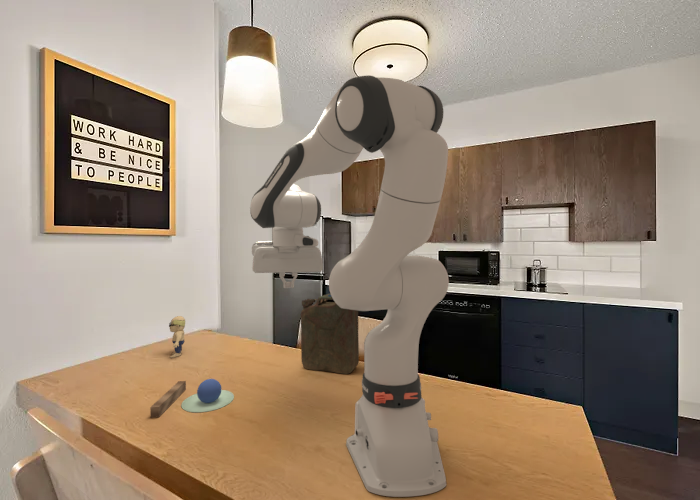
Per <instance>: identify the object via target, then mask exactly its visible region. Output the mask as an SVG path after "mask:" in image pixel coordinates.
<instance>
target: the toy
mask: <svg viewBox="0 0 700 500" xmlns="http://www.w3.org/2000/svg"><path fill="white" fill-rule="evenodd" d="M168 324H169V325H168V327H169V332H171V333H173V335H172V340H171V341H172V348H174V352H172V353H171V355H170V356H169V358H178V357H180V356H181V355H182V353H183V345H184V343H185V330H184V329H185V327H186V318H185V317H184V316H181V315H178V316H175V317H173V318H172V319H171V321H170V322H169V323H168Z"/></svg>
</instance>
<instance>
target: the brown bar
mask: <svg viewBox="0 0 700 500" xmlns="http://www.w3.org/2000/svg"><path fill="white" fill-rule="evenodd" d="M186 381H187V380H181V381H180V380H179V381H177V382H176V383H175V384H174V385H173V386H172V387H171V388H169V389H168V391H165V393H164V394H163V395H162V396H161V397H159V399H158V400H156V401H155V402H154V403H153V404H152V405H151V406H150V407H149V408H150V409H149V410H150V418H160V417H161V416H162V415H163V414H164V413H165V412H166V411H167V410H168V409H169V407H170V406H171V405H172V404H173V403H174V402H175V401H176V400H177V399H179V397H180V396H182V394H183V393H184V392H185V391H186V390H187V382H186Z"/></svg>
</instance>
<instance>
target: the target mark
mask: <svg viewBox="0 0 700 500" xmlns="http://www.w3.org/2000/svg"><path fill="white" fill-rule="evenodd" d="M234 397H235V394H234V393H233V392H232V391H231V390H227V389H226V390H225V389H221V394H220V396H219V398H218V399H217V400H215V401H214V402H212V403H204V402H202V401H200V400H199V398H198V396H197V393H194V394H192V395H189V396H188V397H186V398H185V399H184V400H183V401H182V402H181V406H180V407H181V408H182V410H184V411H186V412H189V413H207V412H211V411H216V410H219V409H222V408H224V407H226V406H228V405H229V404H230V403H232V402H233V401H234V400H235V399H234Z"/></svg>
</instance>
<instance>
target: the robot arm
mask: <svg viewBox="0 0 700 500" xmlns="http://www.w3.org/2000/svg"><path fill="white" fill-rule="evenodd" d="M442 102H443V101H442V100H441V98H440V97H439V96H438V94H436V92H434V91H433V90H432V89H430V88H428V87H426V86H423V85H416V84H413V83H410V82H406V81H404V80H402V79H398V78H392V77H376V76H374V75H359V76H356V77H352V78H350V79H348V80H347V81H345V82H344V83H343V85H341V87H340V88H339V89H338V90H337V92H336V93H334V95H333V97H332V98H331V100H330V101H329V102H328V104H327V106H326V107H325V108H324V110H323V112H322V114H321V116H320V118H319V120H318V122H317V124H316V126H315V127H314V129H312V130H311V132H310V133H309V134H307V136H305V137H304V138H302V140H300V141H298V142H296V143H294V144H292V145H291V146H289V147H288V149H287V150H286V151H285V153H284V154H283V155H282V157H281V159H279V161H278V163H277V164H276V165H275V167H274V169H273V170H272V172H271V173H270V175H269V176H268V178H267V179H266V180H265V182H264V184H263V185H262V186H261V187H260V188H259V189H258V190H256V192H255V193H254V194H253V196H252V198H251V202H250V207H249V209H250V210H249V211H250V217H251V219H252V220H253V221H254V222H255V223H256V224H257V225H258V226H259V227H260V228H262V229H271V228H272V230H271V231H272V240H267V241H266V240H265V241H262V240H259V241H256V242H254V243H253V244H252V246H251V254H252V256H253V258H252V267H251V268H252V272H254V274H271V273H273V274H279V278H280V280H281V281H282V283H283V285H282V286H283V289H294V287H295V281H296V279H297V277H298V273H320V272H322V271H323V269H324V264H323V263H324V262H323V256H322V252H321V249H320V248H319V247H318V246H319V241H318V239H317V238H315V237H312V236H309V235H304V229H305V228H311V227H314V226H315V225H317V223H318V222H319V220H320V219H321V216H322V205H321V201H320V200H319V198H318V196H316V195H315V194H314V193H310V192H307V191H304V190H302V189H301V187H300V186H299V185H298V184H295V183H296V182H297V181H299V180H302V179H306V178H309V177H315V176H322V175H333V174H338V173H341V172H344V171H345V170H347V169H349V167H351V166H352V165H353V164H354V163H355V162H356V160H357V159H358V157H359V156H360V154H361V152H362V151H363V150H366V151H367V152H369V153H371V154H372V153H376V152H377V151H380V152H381V153H382V155H383V159H384V171H383V176H382V181H381V185H380V190H379V196H378V201H377V205H376V209H375V213H374V216H373V220H372V224H371V226H370V229H369V231H368V232H367V235H366V236H365V237H364V239H362V242H361V243H360V244H359V245H358V246H357V248H356V249H354V250H353V251H352V252H351V253H350V254H348V255H346V257H343V258H342V259H340V260H338V262H337V263H336V264H335V265H334V266H333V268H332V270H331V271H330V273H329V274H330V275H329V279H328V290H329V292H330V293H329V294H331V296H332V298H333V300H332V301H333V302H335V303H336V304H337V305H338V306H339V307H340V308H343V309H350V310H357V311H358V312H369V311H381V310H382V311H383V310H387V312H386V315H385V317H384V318H383V320H382V321H381V322H380V323H379V324H378V325H376V326H374V327H373V328H372V329H370V331H369V332H367V335H366V336H365V339H364V342H363V349H364V350H363V351H364V352H363V355H364V357H363V358H364V359H363V360H364V361H363V364H364V369H363V370H364V371H363V373H362V377H361V378H362V379H361V387H362V389H361V391H362V395H361V397H360V398H359V399H358V400H357V401H356V402H355V404H354V405H355V406H354V407H355V409H354V410H355V411H354V434H352V435H350V436H348V437H347V438H346V442H345V446H346V448H347V450H348V452H349V454H350V456H351V458H352V460H353V463H354V465H355V468H356V469H357V471H358V474H359V476H360V478H361V480H362V482H363V485H364V487H365V489H366V490H367V491H368V492H370V493H372V494H376V495H380V496H384V497H385V496H386V497H394V498H395V497H396V498H397V497H398V498H402V497H403V498H404V497H405V498H407V497H408V498H409V497H418V496H419V497H420V496H424V495H430V494H434V493H436V492H439V491H441V490H443V489H444V488H445V487H446V486H447V480H446V479H447V478H446V473H445V469H444V465H443V461H442V458H441V453H440V449H439V444H438V442H439V429H438V428H436V427H431V426H430V427H429V421H431V420H432V414H431V412H427V411H426V401H425V399H424V398H423V396H422V383H421V377H420V375H419V370H418V369H419V365H418V364H419V344H420V338H421V334H422V330H423V328H424V324H425V323H426V320H427V318H428V317H429V316H430V313H431V312H432V311H433V309H434V308H435V307H436V306H437V305H438V304H439V303H440V302H441V301H442V300H443V299H444V298H445V296H446V294H447V293H448V288H449V284H450V283H449V281H450V280H449V274H448V271H447V269H446V267H445V266H444V264H443V263H442V262H441V261H440V260H439V259H436V258H432V257H428V256H422V255H417V254H416V255H413V254H412V255H410V253H412V252H413V251H416V250H417V249H418V248H420V247H422V246H424V244H426V243H427V242H428V241H429V239H430V238H431V236H432V234H433V229H434V226H435V222H436V218H437V216H438V212H439V207H440V205H441V200H442V196H443V191H444V188H445V182H446V177H447V170H448V160H449V159H448V158H449V146H448V142H447V141H446V139H445V138H444V137H443V136H442V135H440V134H439V133H438V132H439V130H440V129H441V126H442V124H443V121H444V106H443V103H442ZM286 273H291V276H292V277H293V278H292V279H291V281H287V280H286V279H285V275H286Z"/></svg>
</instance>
